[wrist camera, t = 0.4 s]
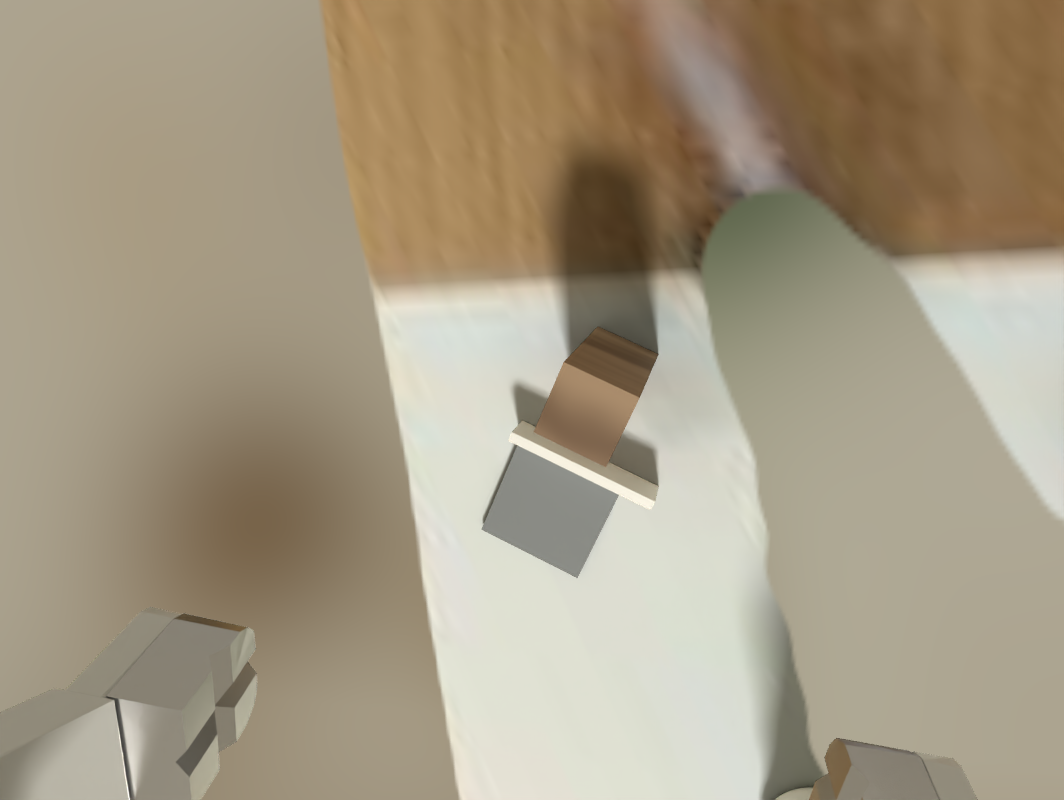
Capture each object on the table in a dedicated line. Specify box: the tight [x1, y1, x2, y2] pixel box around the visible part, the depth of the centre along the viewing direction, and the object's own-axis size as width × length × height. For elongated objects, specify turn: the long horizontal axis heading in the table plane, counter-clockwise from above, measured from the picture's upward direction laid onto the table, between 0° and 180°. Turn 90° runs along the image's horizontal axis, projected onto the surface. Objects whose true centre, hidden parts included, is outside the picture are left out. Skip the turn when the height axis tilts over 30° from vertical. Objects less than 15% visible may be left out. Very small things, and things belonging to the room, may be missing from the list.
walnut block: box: [534, 327, 658, 467], centre depth 50 cm, size 5×5×12 cm
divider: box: [508, 420, 659, 510], centre depth 57 cm, size 1×12×3 cm, turn 68°
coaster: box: [482, 445, 619, 578], centre depth 60 cm, size 9×9×1 cm
